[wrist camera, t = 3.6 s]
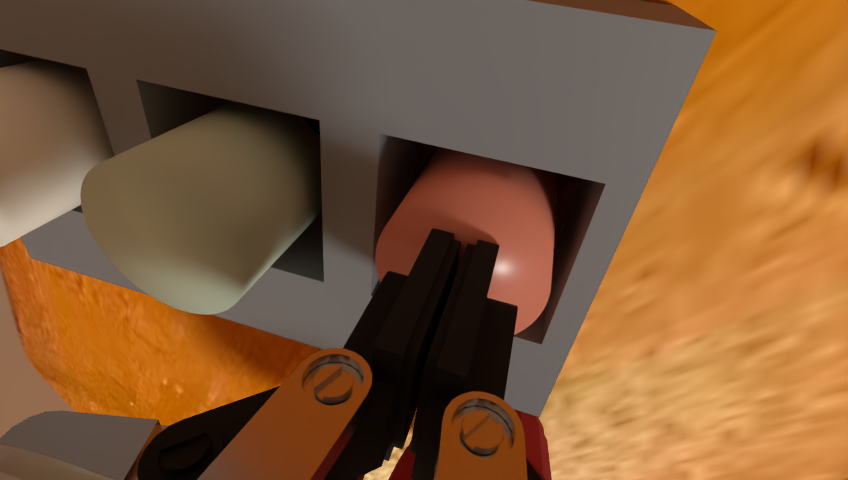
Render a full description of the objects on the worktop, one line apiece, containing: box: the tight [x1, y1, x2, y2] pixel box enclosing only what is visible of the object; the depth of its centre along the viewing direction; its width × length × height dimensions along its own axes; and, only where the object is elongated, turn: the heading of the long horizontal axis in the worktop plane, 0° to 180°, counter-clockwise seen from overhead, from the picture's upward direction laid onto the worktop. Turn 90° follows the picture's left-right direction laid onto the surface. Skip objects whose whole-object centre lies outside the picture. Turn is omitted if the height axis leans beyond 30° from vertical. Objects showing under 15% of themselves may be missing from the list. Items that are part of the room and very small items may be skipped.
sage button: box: [80, 101, 322, 315], centre depth 13 cm, size 4×4×5 cm
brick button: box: [375, 147, 558, 335], centre depth 13 cm, size 4×4×5 cm
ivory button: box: [0, 59, 114, 247], centre depth 14 cm, size 4×4×5 cm
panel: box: [0, 0, 716, 417], centre depth 15 cm, size 12×21×4 cm, turn 83°
